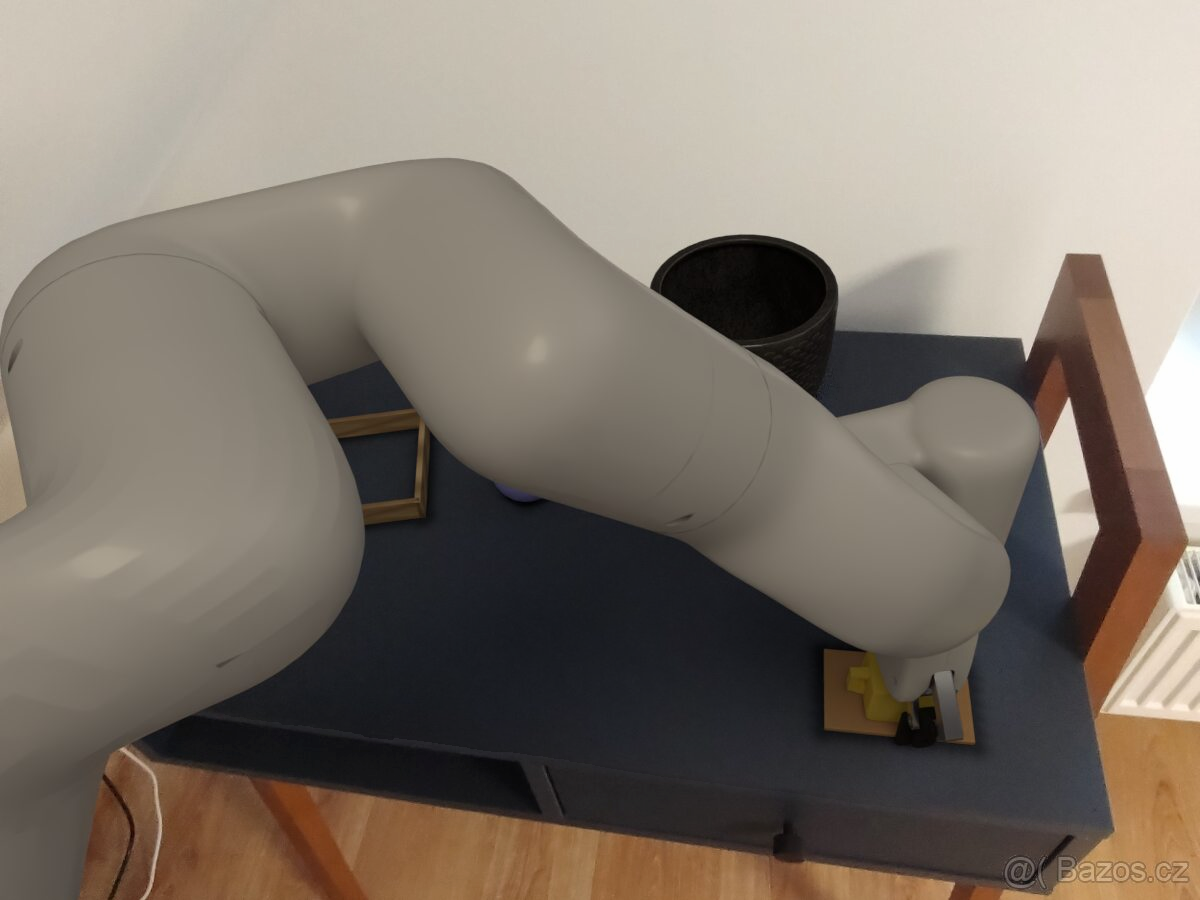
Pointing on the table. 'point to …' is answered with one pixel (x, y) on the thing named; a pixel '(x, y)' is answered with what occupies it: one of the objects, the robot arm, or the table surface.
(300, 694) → the table surface
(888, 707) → the teapot
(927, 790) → the table surface
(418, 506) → the wooden frame
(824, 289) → the planter
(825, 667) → the cork mat
